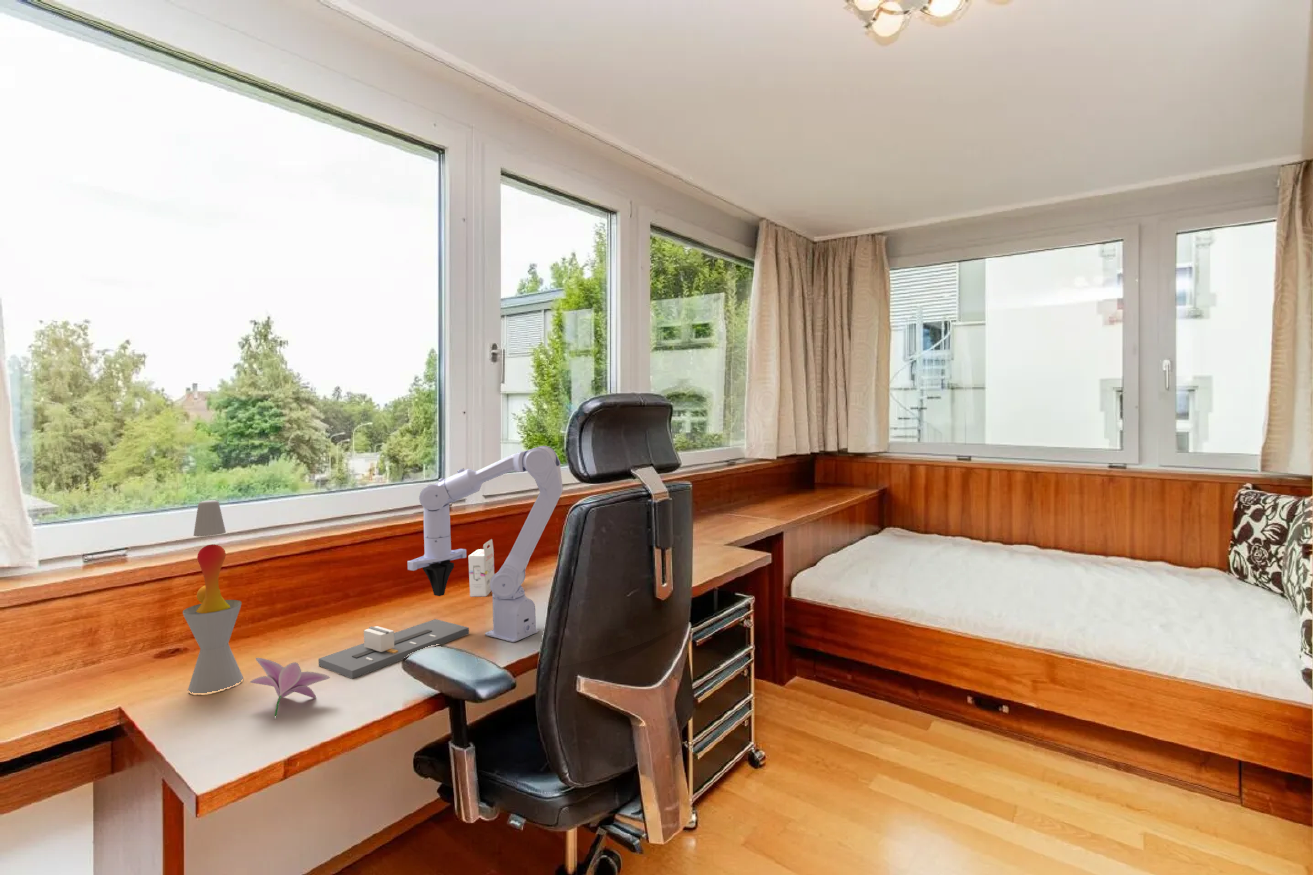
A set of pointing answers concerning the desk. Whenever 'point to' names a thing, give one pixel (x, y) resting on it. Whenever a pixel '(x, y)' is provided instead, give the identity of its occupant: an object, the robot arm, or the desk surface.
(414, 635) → the board
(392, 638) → the fader tab
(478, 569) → the ink cartridge box
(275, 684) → the lily
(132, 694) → the desk surface
